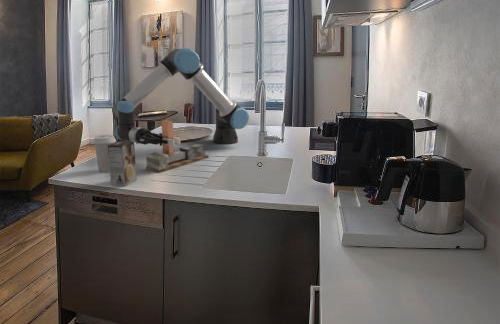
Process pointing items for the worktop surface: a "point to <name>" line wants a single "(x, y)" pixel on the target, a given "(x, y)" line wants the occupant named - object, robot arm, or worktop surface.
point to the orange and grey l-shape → (167, 149)
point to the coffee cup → (103, 151)
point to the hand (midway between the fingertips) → (176, 142)
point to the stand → (161, 161)
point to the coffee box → (122, 163)
